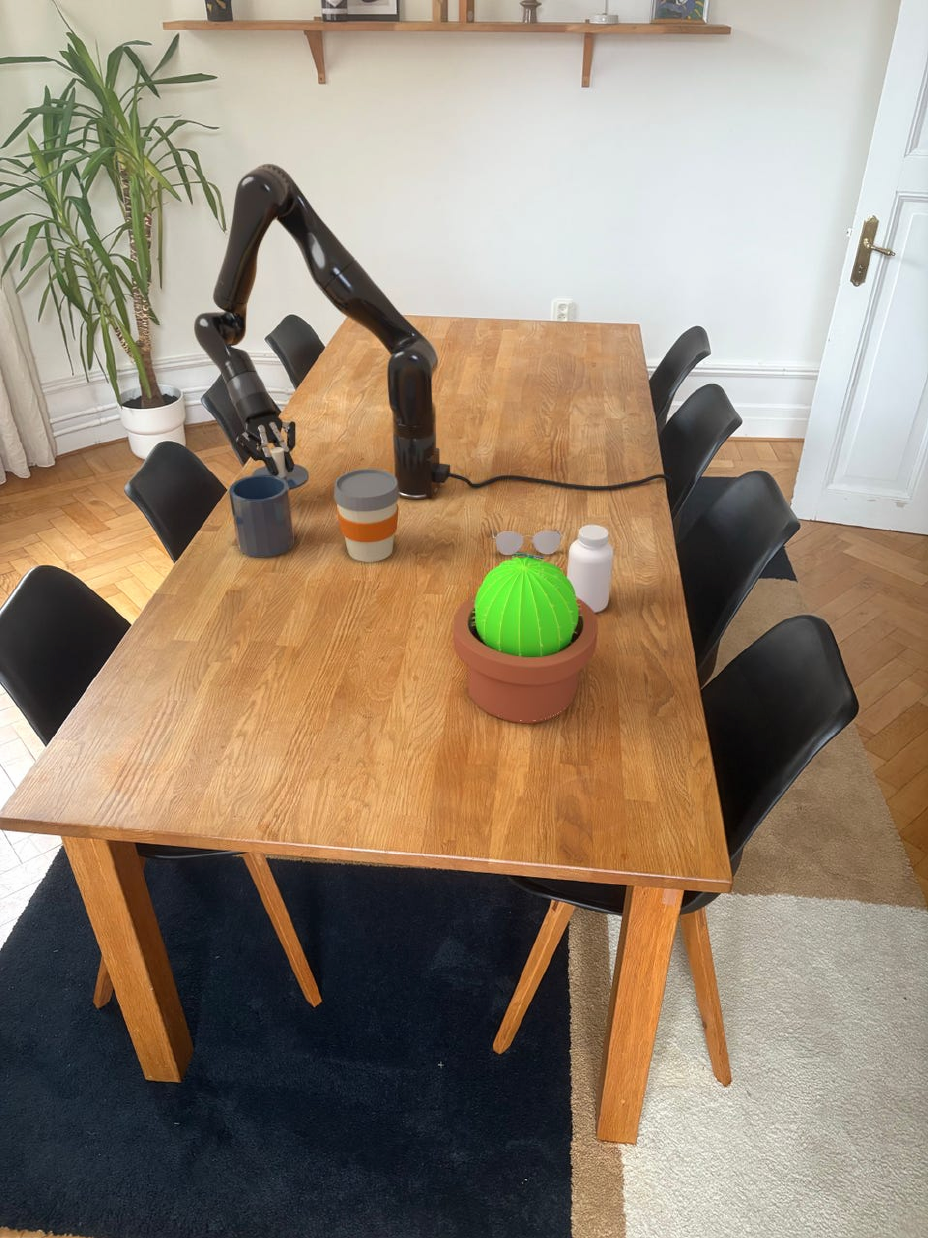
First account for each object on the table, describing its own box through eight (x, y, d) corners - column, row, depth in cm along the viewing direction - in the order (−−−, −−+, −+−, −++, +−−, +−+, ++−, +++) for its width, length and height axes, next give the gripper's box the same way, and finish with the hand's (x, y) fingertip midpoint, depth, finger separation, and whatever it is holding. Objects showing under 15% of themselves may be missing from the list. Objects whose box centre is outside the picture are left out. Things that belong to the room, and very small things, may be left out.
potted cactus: (550, 753, 142) (561, 617, 127) (428, 702, 151) (425, 570, 137) (612, 676, 157) (628, 546, 143) (497, 634, 166) (502, 508, 152)
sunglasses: (492, 555, 188) (493, 531, 186) (490, 540, 196) (490, 517, 193) (562, 554, 189) (563, 530, 186) (557, 539, 196) (557, 516, 194)
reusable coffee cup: (412, 542, 192) (410, 475, 183) (382, 572, 183) (378, 503, 174) (358, 529, 196) (354, 463, 188) (326, 558, 187) (320, 490, 178)
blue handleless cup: (303, 534, 195) (297, 479, 187) (278, 561, 186) (271, 504, 179) (254, 525, 197) (246, 471, 190) (228, 552, 189) (218, 496, 181)
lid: (318, 472, 205) (316, 441, 201) (293, 497, 196) (290, 466, 191) (267, 464, 208) (264, 434, 204) (240, 489, 199) (236, 457, 194)
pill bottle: (612, 595, 177) (620, 524, 168) (603, 618, 171) (611, 546, 162) (570, 587, 179) (576, 517, 170) (560, 610, 173) (565, 538, 164)
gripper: (223, 398, 193) (257, 475, 192) (285, 383, 200) (318, 457, 199) (216, 414, 200) (249, 488, 199) (276, 399, 206) (308, 470, 206)
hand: (283, 472), depth 199 cm, fingers closed on lid, 3 cm apart
